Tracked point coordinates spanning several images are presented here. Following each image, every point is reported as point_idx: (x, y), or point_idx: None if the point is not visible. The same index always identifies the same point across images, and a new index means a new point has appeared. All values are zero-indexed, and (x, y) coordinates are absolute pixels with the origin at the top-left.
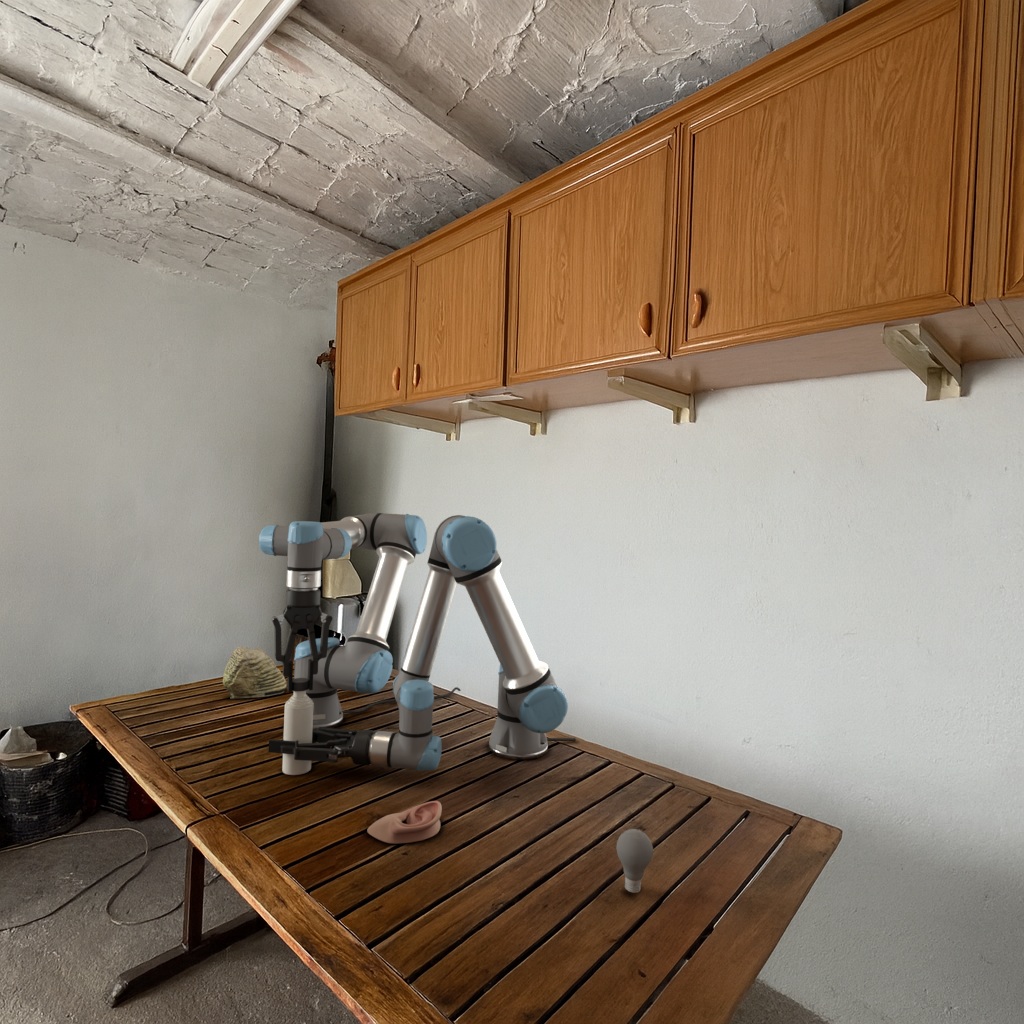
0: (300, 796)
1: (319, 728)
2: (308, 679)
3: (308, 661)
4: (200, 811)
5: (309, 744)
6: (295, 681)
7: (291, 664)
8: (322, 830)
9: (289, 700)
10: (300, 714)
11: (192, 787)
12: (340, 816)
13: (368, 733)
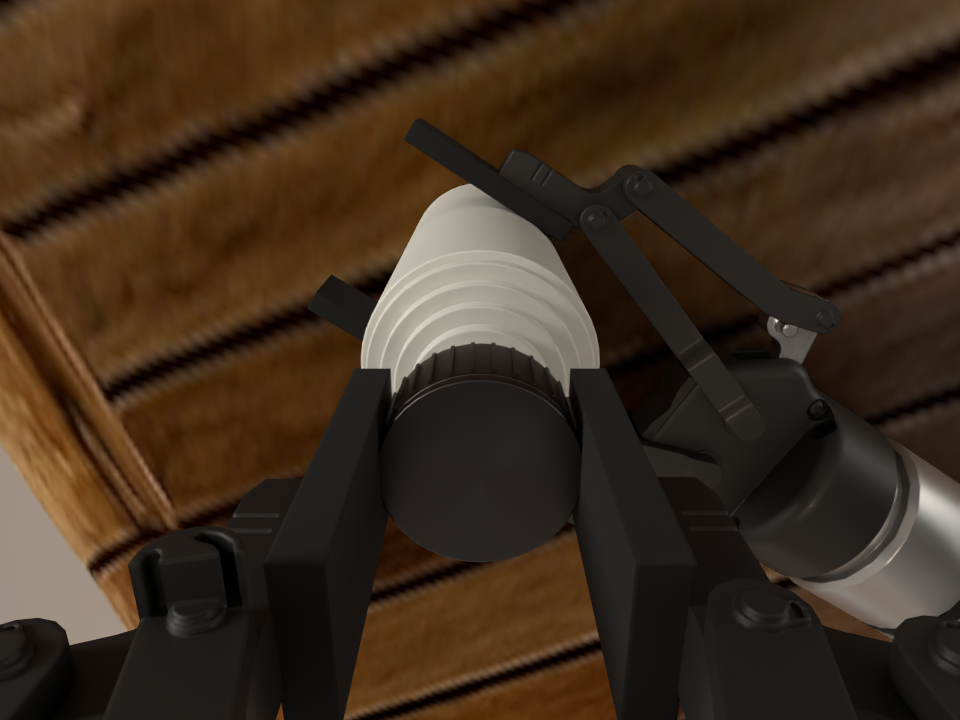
0: None
1: (635, 196)
2: (579, 477)
3: (627, 562)
4: (109, 493)
5: None
6: (421, 511)
7: (319, 717)
8: (489, 716)
9: (394, 370)
10: None
11: (32, 282)
12: (559, 666)
13: (838, 557)
